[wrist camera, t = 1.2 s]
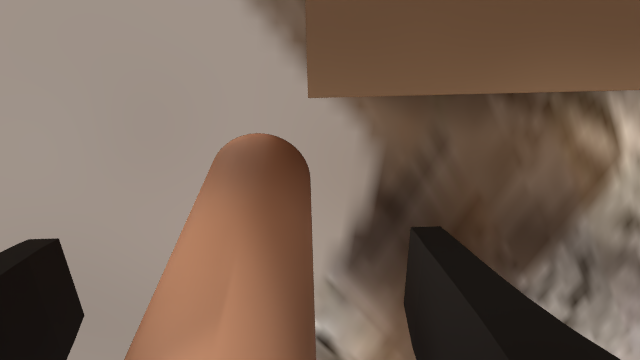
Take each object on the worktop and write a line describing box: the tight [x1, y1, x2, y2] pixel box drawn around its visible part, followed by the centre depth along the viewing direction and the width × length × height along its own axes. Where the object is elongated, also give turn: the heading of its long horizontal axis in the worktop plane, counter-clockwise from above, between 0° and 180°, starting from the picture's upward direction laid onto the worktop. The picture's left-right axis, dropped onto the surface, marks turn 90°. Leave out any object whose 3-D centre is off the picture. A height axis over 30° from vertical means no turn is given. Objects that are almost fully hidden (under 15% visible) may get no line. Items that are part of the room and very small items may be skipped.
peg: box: [124, 133, 316, 360], centre depth 9 cm, size 3×3×9 cm
